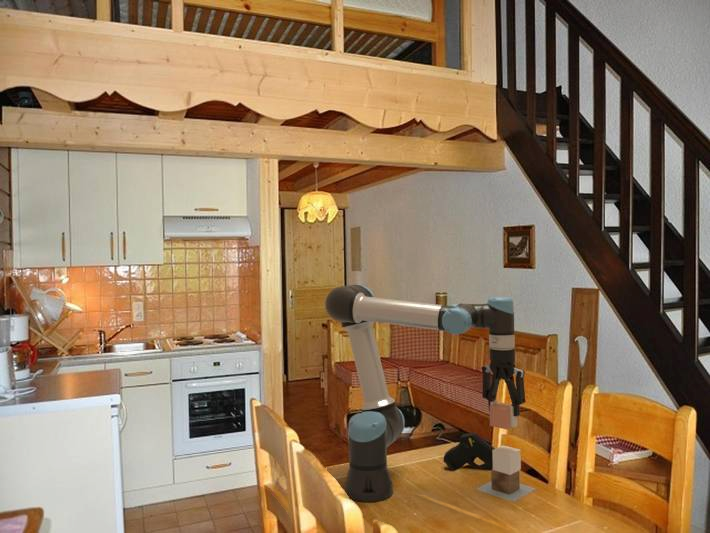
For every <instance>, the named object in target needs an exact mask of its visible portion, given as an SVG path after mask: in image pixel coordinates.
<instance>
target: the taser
mask: <svg viewBox="0 0 710 533" xmlns="http://www.w3.org/2000/svg"><path fill="white" fill-rule="evenodd" d="M494 449H496V448H495V447H494V446H493V445H491V444H490V443H489V442H487V441H486V440H485V439H484V438H482V437H481V435H478V434H477V433H476V432H470V433H469V432H468V433H463V434H461V436H460V439H459V443H458V444H457V445H455V446H453V447H451V448H449V449H448V450H447V451H446V452H445V453H444V456H443V459H442V460H443V463H444V464H445V465H446V466H447V467H448V469H450V471H451V472H455V471H459V469H461V468H463V467H464V466H465V465H466V464H468V465H469V466H470V467H471V468H473V469H474V470H480V471H482V470H484V471H491V469H493V454H492V450H494ZM477 458H478V459H479V460H480V461H481V462H483V463H482V464H477V463H476V462H475V460H476V459H477Z"/></svg>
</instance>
